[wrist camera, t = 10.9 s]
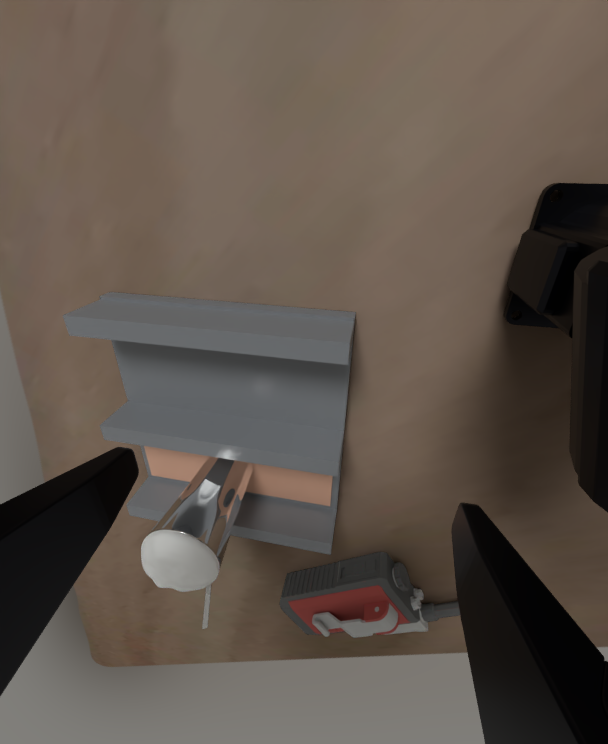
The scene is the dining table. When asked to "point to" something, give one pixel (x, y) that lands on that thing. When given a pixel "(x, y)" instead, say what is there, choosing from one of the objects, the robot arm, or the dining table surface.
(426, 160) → the dining table surface
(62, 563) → the robot arm
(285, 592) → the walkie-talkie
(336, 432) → the grey slotted tray
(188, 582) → the milkshake
